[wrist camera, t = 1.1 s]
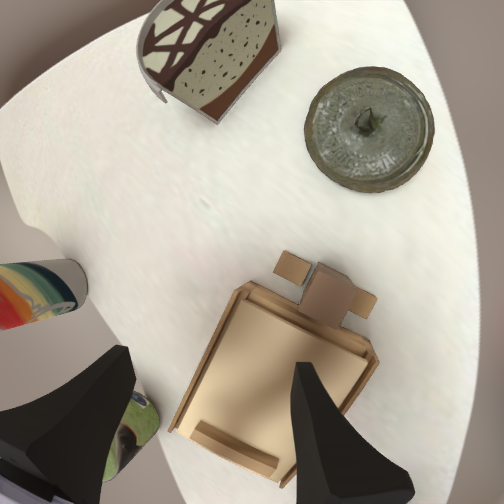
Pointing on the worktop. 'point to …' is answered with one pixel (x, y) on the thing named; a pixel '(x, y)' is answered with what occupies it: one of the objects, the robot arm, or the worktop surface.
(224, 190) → the worktop surface
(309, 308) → the walnut key
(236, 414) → the sliding lid
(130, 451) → the beverage can
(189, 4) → the food container
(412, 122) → the grey small piece
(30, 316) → the lotion bottle
